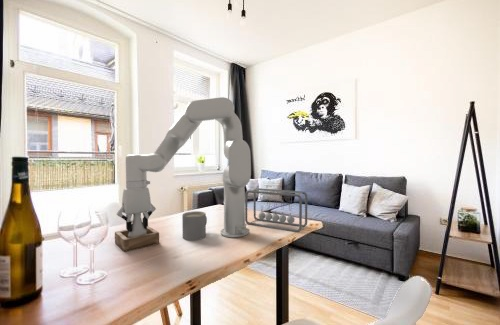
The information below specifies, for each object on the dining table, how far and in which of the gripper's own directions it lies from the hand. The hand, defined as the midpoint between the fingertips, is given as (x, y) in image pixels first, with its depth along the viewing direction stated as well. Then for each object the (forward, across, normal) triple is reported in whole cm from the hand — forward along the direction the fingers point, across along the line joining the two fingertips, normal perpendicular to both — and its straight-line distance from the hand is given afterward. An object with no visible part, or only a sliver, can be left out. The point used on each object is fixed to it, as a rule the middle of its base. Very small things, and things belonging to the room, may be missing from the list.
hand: (137, 229), depth 98 cm
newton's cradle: (+6, -60, +21) cm, 64 cm away
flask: (+3, 0, 0) cm, 3 cm away
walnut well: (+6, 0, 0) cm, 6 cm away
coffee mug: (+6, -23, +8) cm, 25 cm away
